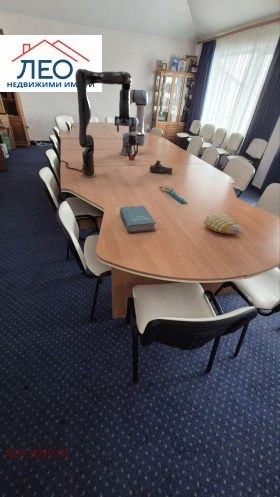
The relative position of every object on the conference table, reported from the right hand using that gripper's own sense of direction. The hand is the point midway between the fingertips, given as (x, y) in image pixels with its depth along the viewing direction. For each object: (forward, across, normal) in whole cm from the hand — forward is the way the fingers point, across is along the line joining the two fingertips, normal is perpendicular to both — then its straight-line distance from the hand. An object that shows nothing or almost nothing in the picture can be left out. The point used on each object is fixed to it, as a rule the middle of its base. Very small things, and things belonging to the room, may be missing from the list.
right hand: (131, 159), depth 231 cm
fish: (+5, +50, -130) cm, 139 cm away
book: (+5, -3, -121) cm, 121 cm away
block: (0, 0, 0) cm, 0 cm away
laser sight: (+5, +28, -23) cm, 36 cm away
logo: (+5, +30, -77) cm, 83 cm away
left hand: (-34, -10, -52) cm, 63 cm away
